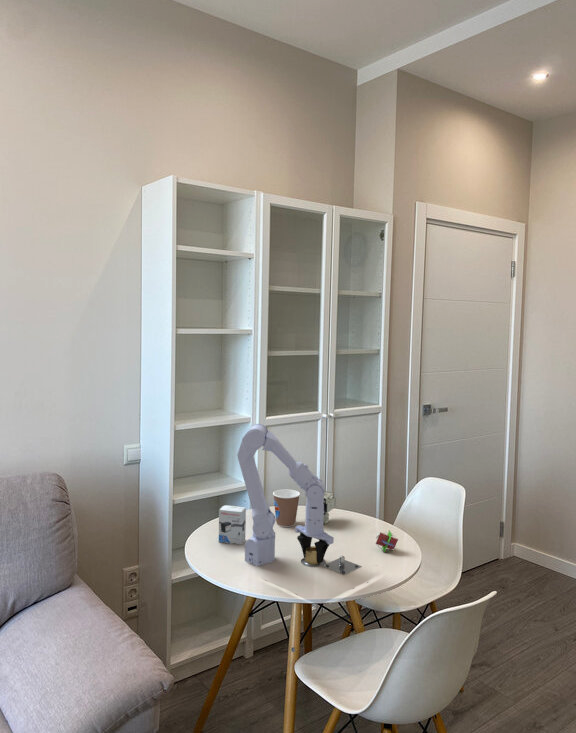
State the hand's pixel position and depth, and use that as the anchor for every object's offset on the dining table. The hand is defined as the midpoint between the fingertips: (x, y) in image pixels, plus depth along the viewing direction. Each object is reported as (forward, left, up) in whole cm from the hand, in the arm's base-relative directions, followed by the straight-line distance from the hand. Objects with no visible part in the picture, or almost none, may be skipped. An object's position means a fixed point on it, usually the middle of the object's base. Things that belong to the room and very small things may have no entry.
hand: (313, 559), depth 192 cm
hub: (+4, -8, -2) cm, 10 cm away
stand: (0, 0, -2) cm, 2 cm away
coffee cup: (+20, +32, -2) cm, 37 cm away
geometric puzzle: (+27, -9, -2) cm, 29 cm away
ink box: (-6, +33, -2) cm, 33 cm away
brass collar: (0, 0, -1) cm, 1 cm away
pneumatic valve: (+32, +23, -2) cm, 39 cm away
